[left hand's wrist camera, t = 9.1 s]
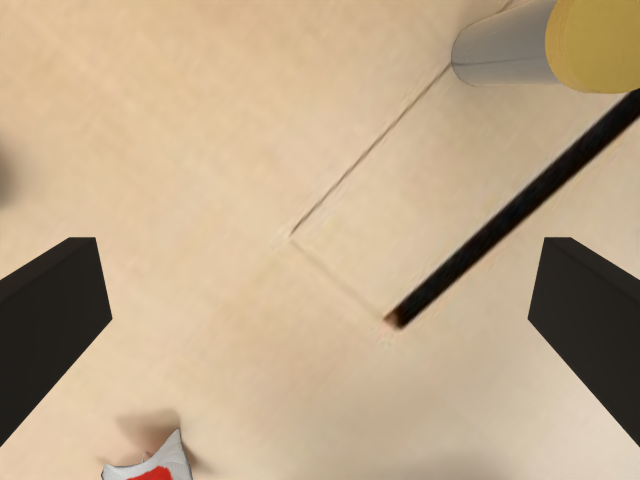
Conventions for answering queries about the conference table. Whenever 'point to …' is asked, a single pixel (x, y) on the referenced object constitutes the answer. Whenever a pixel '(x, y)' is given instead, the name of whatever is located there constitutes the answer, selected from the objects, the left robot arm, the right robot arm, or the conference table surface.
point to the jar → (506, 48)
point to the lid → (595, 45)
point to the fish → (156, 464)
